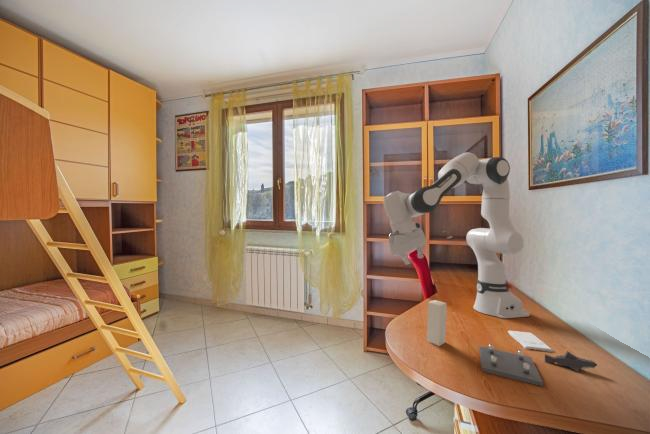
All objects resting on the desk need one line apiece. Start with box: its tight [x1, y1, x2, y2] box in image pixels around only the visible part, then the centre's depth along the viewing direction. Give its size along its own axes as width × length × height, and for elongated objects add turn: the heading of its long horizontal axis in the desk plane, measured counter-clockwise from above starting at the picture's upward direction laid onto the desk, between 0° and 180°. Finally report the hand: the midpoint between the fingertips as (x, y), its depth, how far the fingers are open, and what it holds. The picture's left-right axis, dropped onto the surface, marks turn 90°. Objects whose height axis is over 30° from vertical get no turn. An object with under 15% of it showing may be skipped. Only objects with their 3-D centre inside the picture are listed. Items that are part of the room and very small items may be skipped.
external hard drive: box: [507, 330, 553, 353], centre depth 97 cm, size 2×8×12 cm
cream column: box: [426, 299, 447, 347], centre depth 95 cm, size 4×4×14 cm
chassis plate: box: [478, 343, 544, 387], centre depth 81 cm, size 14×14×4 cm
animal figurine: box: [544, 350, 598, 373], centre depth 81 cm, size 12×4×5 cm, turn 56°
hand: (414, 261), depth 109 cm, fingers open, 8 cm apart
